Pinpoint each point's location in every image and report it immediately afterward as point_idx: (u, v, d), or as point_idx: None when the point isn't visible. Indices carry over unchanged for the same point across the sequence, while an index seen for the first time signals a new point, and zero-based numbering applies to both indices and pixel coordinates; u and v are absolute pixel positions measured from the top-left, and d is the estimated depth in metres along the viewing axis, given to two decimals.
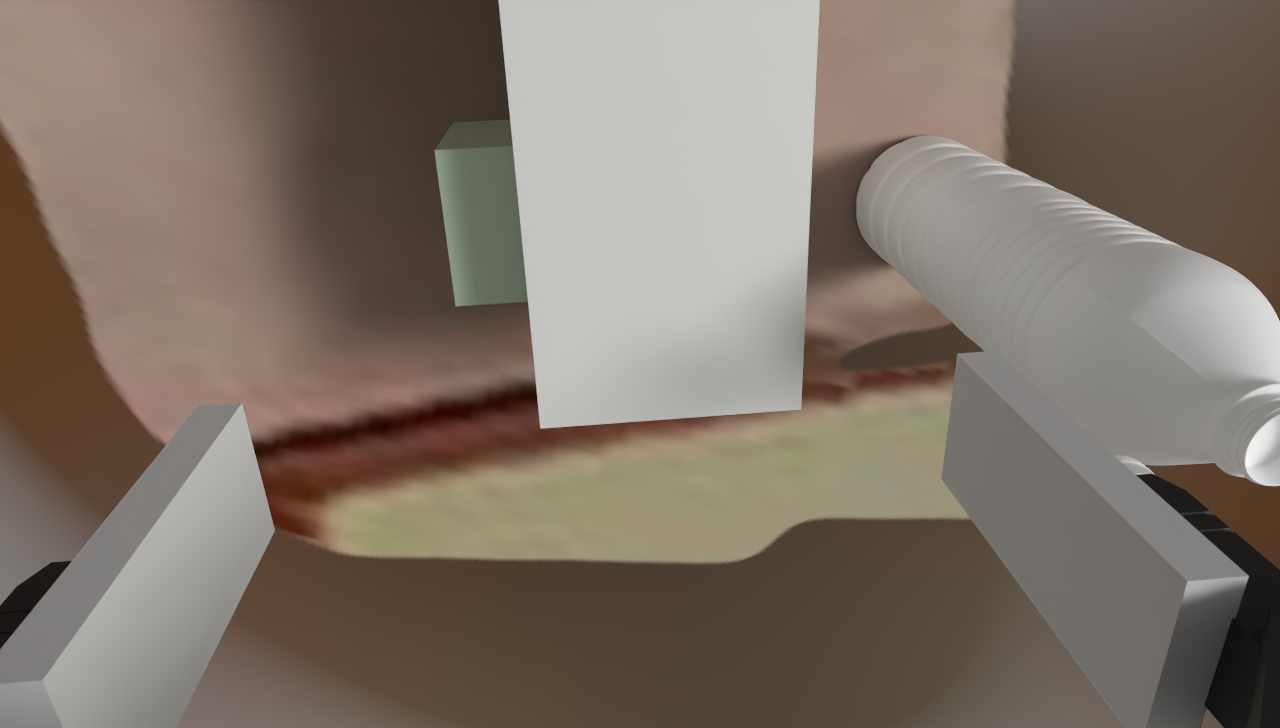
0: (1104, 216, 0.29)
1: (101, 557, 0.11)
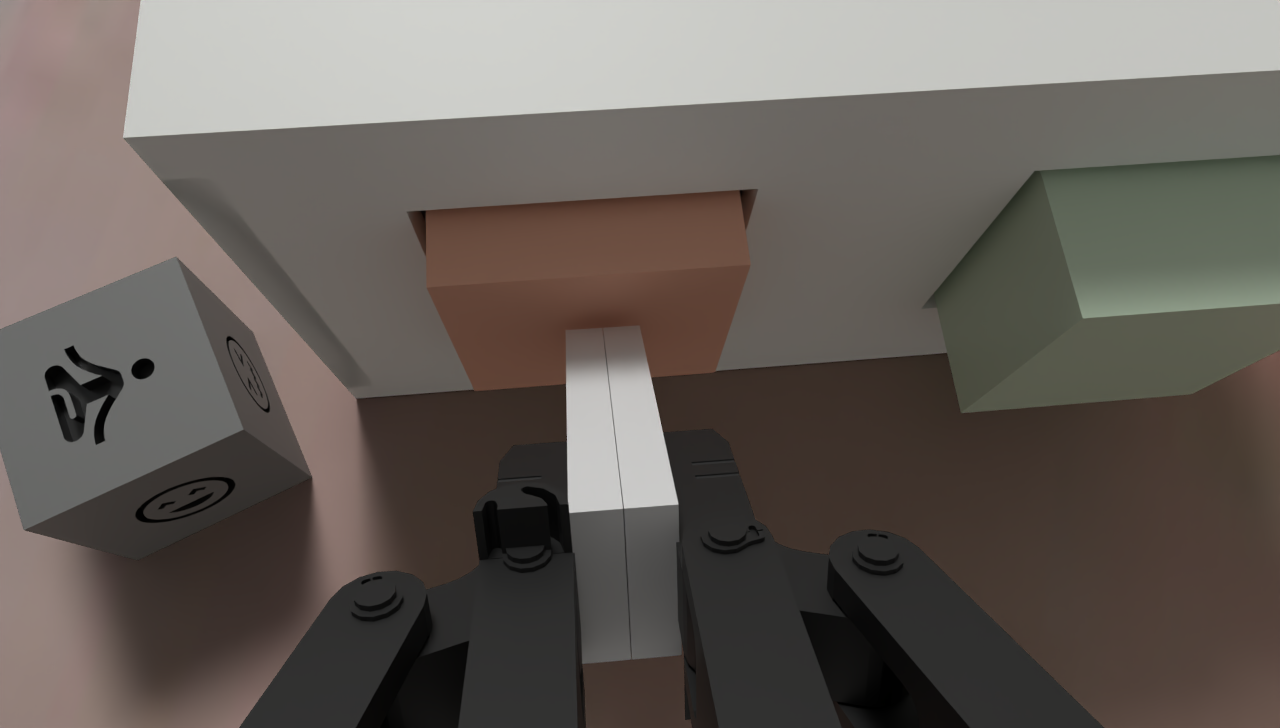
0: None
1: (589, 432, 0.14)
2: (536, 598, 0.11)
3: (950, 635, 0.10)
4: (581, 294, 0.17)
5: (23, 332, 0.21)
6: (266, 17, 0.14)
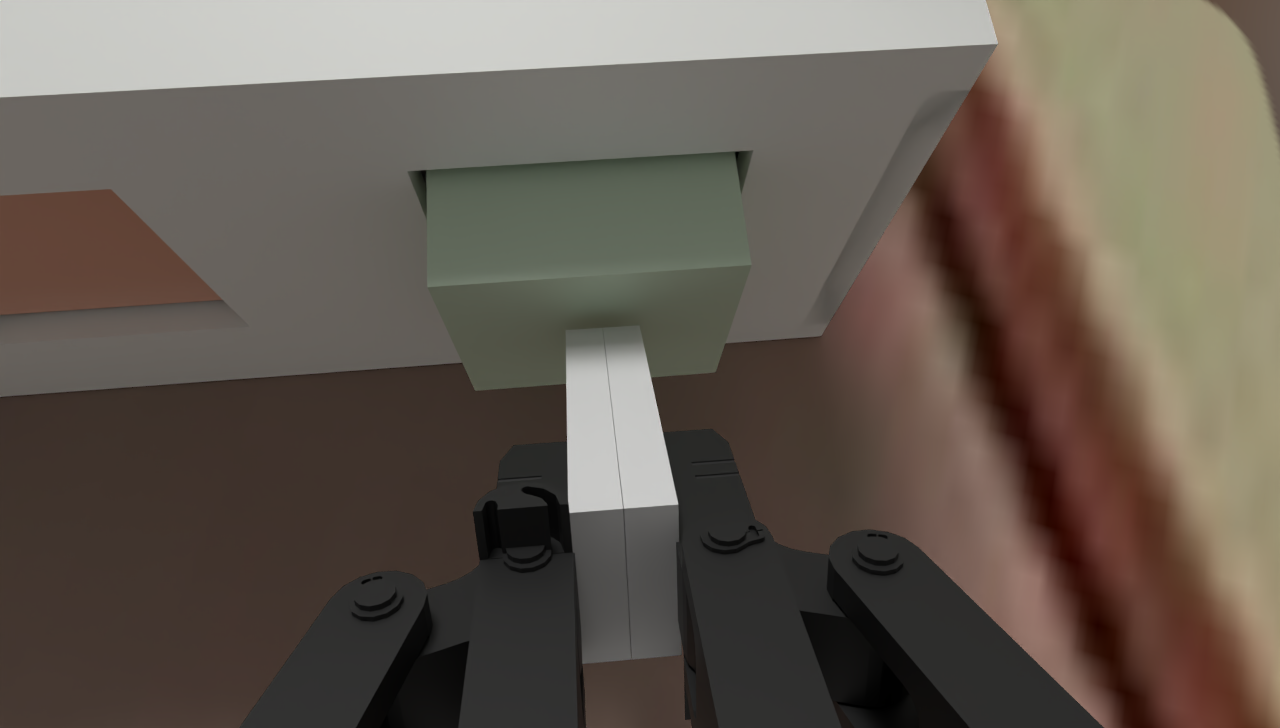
0: None
1: (589, 432, 0.14)
2: (536, 598, 0.11)
3: (950, 635, 0.10)
4: None
5: None
6: None
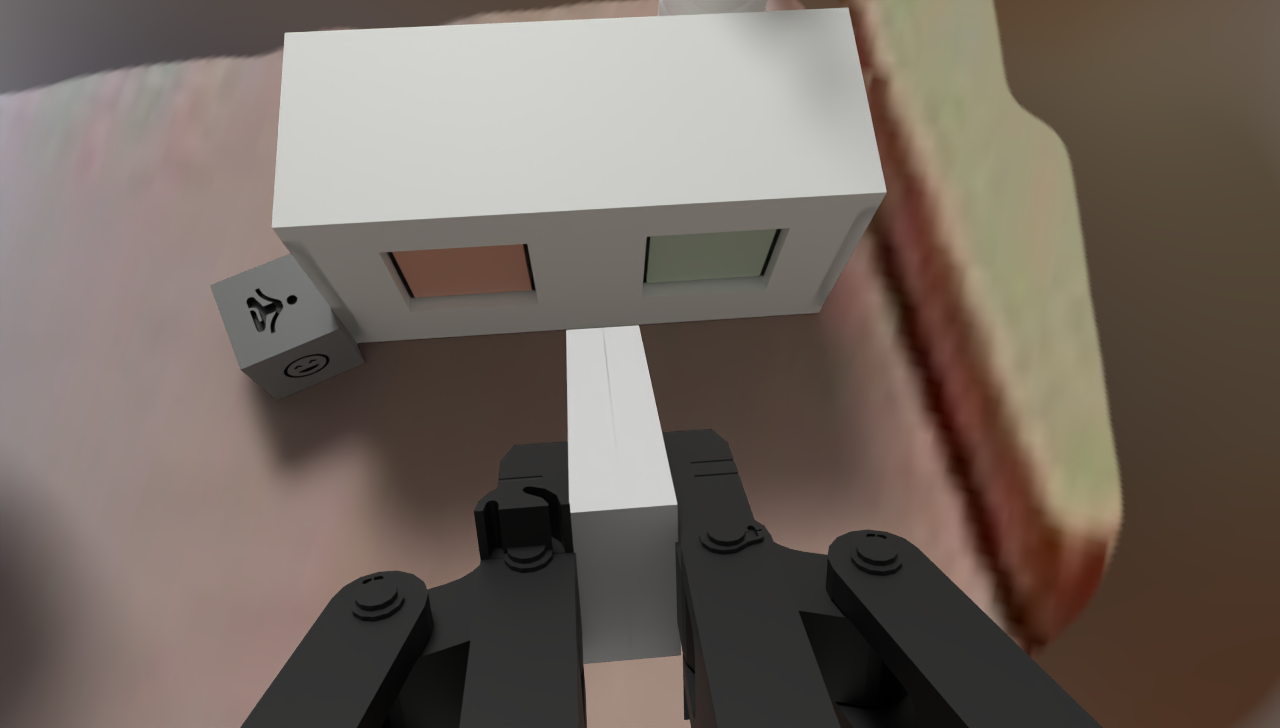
0: None
1: (590, 432, 0.14)
2: (537, 598, 0.11)
3: (949, 635, 0.10)
4: None
5: (235, 281, 0.44)
6: (323, 179, 0.37)
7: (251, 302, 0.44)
